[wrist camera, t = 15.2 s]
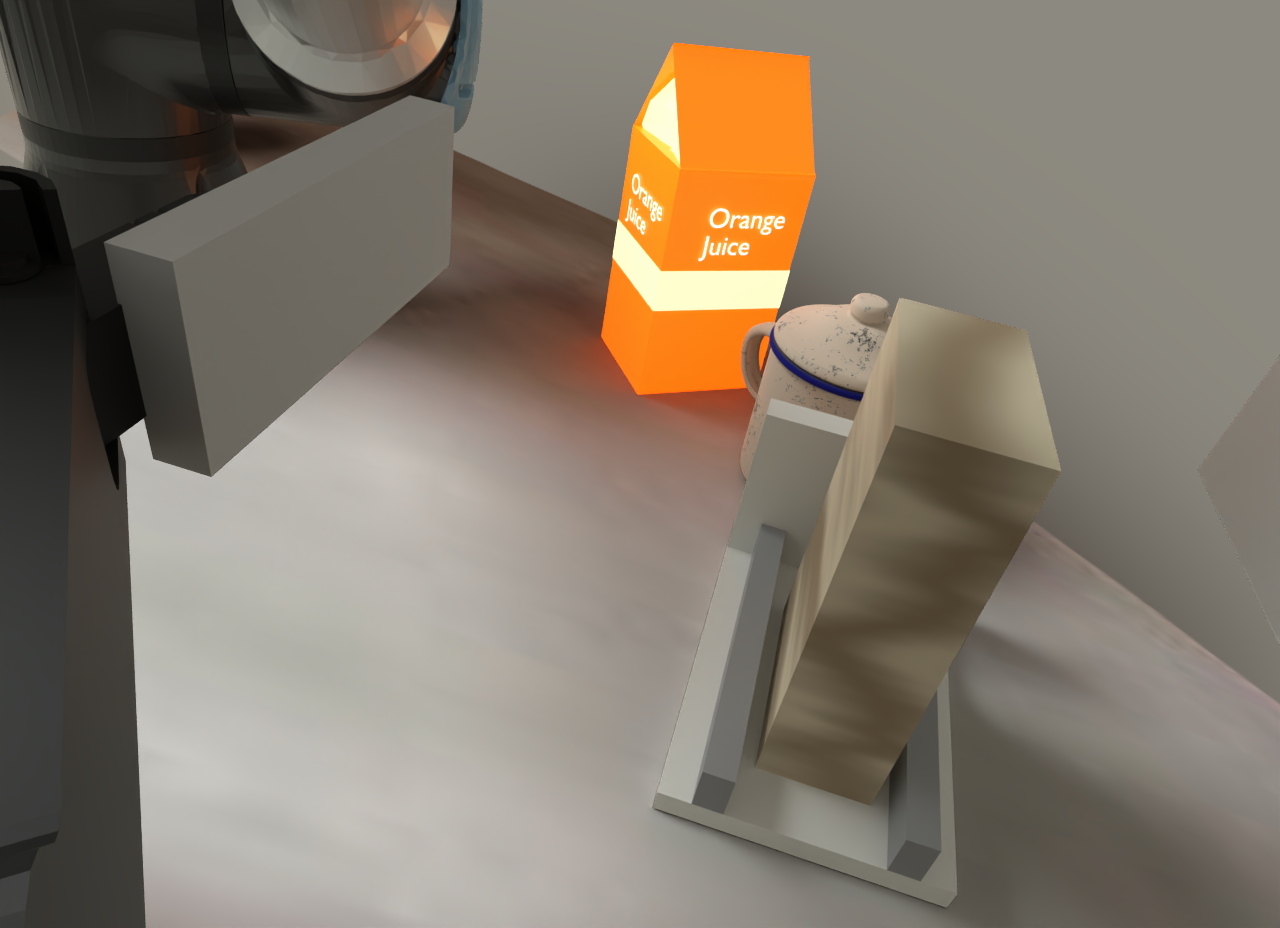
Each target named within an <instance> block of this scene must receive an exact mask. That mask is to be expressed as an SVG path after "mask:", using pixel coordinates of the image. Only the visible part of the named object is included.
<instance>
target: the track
mask: <svg viewBox="0 0 1280 928" xmlns="http://www.w3.org/2000/svg"><path fill="white" fill-rule="evenodd" d="M853 422H854V421H852V420H848V419H845V418H841V417H838V416H834V415H830V414H827V413H823V412H820V411H816V410H812V409H809V408H805V407H802V406H798V405H795V404H791V403H787V402H784V401H780V400H777V399H773V398H771V400H770V403H769V407H768V410H767V413H766V417H765V420H764V423H763V427H762V430H761V433H760V437H759V440H758V443H757V447H756V450H755V453H754V457H753V460H752V464H751V467H750V470H749V474H748V477H747V480H746V484H745V487H744V490H743V494H742V497H741V500H740V504H739V507H738V510H737V514H736V517H735V521H734V524H733V527H732V531H731V534H730V537H729V541H728V544H727V548H726V551H725V555H724V558H723V562H722V565H721V569H720V572H719V576H718V579H717V583H716V586H715V590H714V593H713V597H712V600H711V604H710V607H709V611H708V614H707V618H706V621H705V625H704V628H703V632H702V636H701V639H700V643H699V646H698V650H697V653H696V657H695V660H694V664H693V667H692V671H691V674H690V678H689V681H688V685H687V688H686V692H685V695H684V699H683V702H682V706H681V709H680V713H679V716H678V720H677V723H676V727H675V730H674V734H673V737H672V741H671V745H670V748H669V752H668V755H667V759H666V762H665V766H664V769H663V773H662V776H661V780H660V783H659V787H658V790H657V794H656V797H655V801H654V804H653V808H656V809H659V810H661V811H664V812H667V813H670V814H673V815H676V816H679V817H682V818H685V819H688V820H691V821H694V822H697V823H700V824H702V825H705V826H708V827H711V828H714V829H717V830H720V831H723V832H726V833H729V834H732V835H735V836H738V837H741V838H744V839H746V840H749V841H752V842H755V843H758V844H761V845H764V846H767V847H770V848H773V849H776V850H779V851H782V852H785V853H787V854H790V855H793V856H796V857H799V858H802V859H805V860H808V861H811V862H814V863H817V864H820V865H823V866H826V867H828V868H831V869H834V870H837V871H840V872H843V873H846V874H849V875H852V876H855V877H858V878H861V879H864V880H867V881H869V882H872V883H875V884H878V885H881V886H884V887H887V888H890V889H893V890H896V891H899V892H902V893H905V894H908V895H910V896H913V897H916V898H919V899H922V900H925V901H928V902H931V903H934V904H937V905H940V906H943V907H946V908H947V907H948V906H949V904H950V903H951V902H952V900H953V899H954V898H955V896H956V895H957V872H956V847H955V823H954V799H953V775H952V750H951V726H950V702H949V677H948V671H947V673H946V675H945V676H944V678H943V680H942V682H941V683H940V685H939V687H938V689H937V690H936V692H935V694H934V696H933V698H932V699H931V701H930V703H929V705H928V706H927V708H926V710H925V712H924V713H923V715H922V717H921V719H920V720H919V722H918V724H917V726H916V727H915V729H914V731H913V733H912V734H911V736H910V738H909V740H908V741H907V743H906V745H905V747H904V748H903V750H902V752H901V754H900V755H899V757H898V759H897V761H896V762H895V764H894V766H893V768H892V769H891V771H890V773H889V775H888V776H887V778H886V780H885V782H884V783H883V785H882V787H881V789H880V791H879V792H878V794H877V796H876V798H875V799H874V801H873V803H872V805H871V806H870V805H867V804H864V803H861V802H857V801H854V800H851V799H848V798H845V797H842V796H839V795H836V794H833V793H830V792H827V791H824V790H821V789H818V788H815V787H812V786H809V785H806V784H803V783H800V782H797V781H794V780H791V779H788V778H785V777H782V776H779V775H776V774H773V773H770V772H767V771H764V770H761V769H758V768H755V765H756V759H757V754H758V748H759V743H760V737H761V732H762V726H763V721H764V715H765V710H766V704H767V699H768V693H769V688H770V682H771V677H772V671H773V666H774V660H775V655H776V649H777V644H778V638H779V633H780V627H781V622H782V616H783V611H784V607H785V604H786V601H787V599H788V596H789V593H790V591H791V588H792V585H793V583H794V580H795V577H796V575H797V572H798V569H799V567H800V564H801V561H802V558H803V556H804V553H805V550H806V548H807V545H808V542H809V540H810V537H811V534H812V532H813V529H814V526H815V524H816V521H817V518H818V516H819V513H820V510H821V508H822V505H823V502H824V499H825V497H826V494H827V491H828V489H829V486H830V483H831V481H832V478H833V475H834V473H835V470H836V467H837V465H838V462H839V459H840V457H841V454H842V451H843V449H844V446H845V443H846V440H847V438H848V435H849V432H850V430H851V427H852V424H853Z"/></svg>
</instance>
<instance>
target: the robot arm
mask: <svg viewBox="0 0 1280 928" xmlns="http://www.w3.org/2000/svg"><path fill="white" fill-rule="evenodd" d="M481 28H482V0H0V50H1V54H2V58H3V62H4V65H5V69H6V73H7V76H8V80H9V84H10V88H11V91H12V95H13V99H14V102H15V106H16V109H17V113H18V117H19V121H20V125H21V129H22V133H23V137H24V141H25V156H24V164H23V169H20V168H16V167H12V166H0V928H146V925H145V902H144V879H143V855H142V832H141V809H140V786H139V763H138V739H137V716H136V693H135V670H134V646H133V623H132V600H131V577H130V554H129V530H128V507H127V484H126V461H125V457H124V453H123V449H122V445H121V441H120V437H119V436H120V435H121V434H123V433H124V432H125V431H127V430H128V429H129V428H131V427H132V426H134V425H135V424H136V423H138V422H139V421H140V420H142V419H143V418H144V421H145V425H146V429H147V434H148V438H149V442H150V447H151V451H152V455H153V459H155V460H159V461H162V462H165V463H168V464H171V465H175V466H178V467H181V468H184V469H187V470H191V471H194V472H197V473H200V474H204V475H207V476H210V477H212V476H213V475H214V474H215V473H216V472H217V471H219V470H220V469H221V468H222V467H223V466H224V465H225V464H226V463H228V462H229V461H230V460H231V459H232V458H233V457H234V456H235V455H237V454H238V453H239V452H240V451H241V450H242V449H243V448H244V447H246V446H247V445H248V444H249V443H250V442H251V441H252V440H253V439H255V438H256V437H257V436H258V435H259V434H260V433H261V432H262V431H264V430H265V429H266V428H267V427H268V426H269V425H270V424H271V423H273V422H274V421H275V420H276V419H277V418H278V417H279V416H280V415H282V414H283V413H284V412H285V411H286V410H287V409H288V408H289V407H291V406H292V405H293V404H294V403H295V402H296V401H297V400H298V399H300V398H301V397H302V396H303V395H304V394H305V393H306V392H307V391H309V390H310V389H311V388H312V387H313V386H314V385H315V384H316V383H318V382H319V381H320V380H321V379H322V378H323V377H324V376H325V375H327V374H328V373H329V372H330V371H331V370H332V369H333V368H334V367H336V366H337V365H338V364H339V363H340V362H341V361H342V360H343V359H345V358H346V357H347V356H348V355H349V354H350V353H351V352H352V351H354V350H355V349H356V348H357V347H358V346H359V345H360V344H361V343H363V342H364V341H365V340H366V339H367V338H368V337H369V336H370V335H372V334H373V333H374V332H375V331H376V330H377V329H378V328H379V327H381V326H382V325H383V324H384V323H385V322H386V321H387V320H388V319H390V318H391V317H392V316H393V315H394V314H395V313H396V312H397V311H399V310H400V309H401V308H402V307H403V306H404V305H405V304H406V303H408V302H409V301H410V300H411V299H412V298H413V297H414V296H415V295H417V294H418V293H419V292H420V291H421V290H422V289H423V288H424V287H426V286H427V285H428V284H429V283H430V282H431V281H432V280H433V279H435V278H436V277H437V276H438V275H439V274H440V273H441V272H442V271H444V270H445V269H446V268H447V267H448V266H449V265H450V236H451V204H452V173H453V140H454V133H456V132H457V131H458V130H460V129H461V127H462V126H463V125H464V123H465V122H466V119H467V117H468V114H469V111H470V108H471V104H472V99H473V89H474V85H473V82H475V79H476V74H477V70H478V63H479V53H480V42H481ZM232 114H236V115H245V116H256V117H265V118H273V119H281V120H290V121H298V122H306V123H315V124H323V125H331V126H340V127H343V128H341V129H339V130H337V131H335V132H333V133H330V134H328V135H326V136H324V137H322V138H320V139H318V140H316V141H314V142H312V143H310V144H308V145H305V146H303V147H301V148H299V149H297V150H295V151H293V152H291V153H289V154H287V155H285V156H282V157H280V158H278V159H276V160H274V161H272V162H270V163H268V164H266V165H264V166H262V167H260V168H257V169H255V170H253V171H251V172H249V173H248V172H247V170H246V168H245V166H244V164H243V162H242V159H241V157H240V155H239V153H238V150H237V147H236V142H235V135H234V127H233V118H232ZM1198 472H1199V474H1200V477H1201V479H1202V481H1203V483H1204V485H1205V487H1206V489H1207V492H1208V494H1209V496H1210V498H1211V500H1212V502H1213V505H1214V507H1215V509H1216V511H1217V513H1218V515H1219V517H1220V520H1221V522H1222V524H1223V526H1224V528H1225V530H1226V532H1227V535H1228V537H1229V539H1230V541H1231V543H1232V545H1233V547H1234V550H1235V552H1236V554H1237V556H1238V558H1239V560H1240V562H1241V565H1242V566H1243V569H1244V571H1245V573H1246V575H1247V577H1248V580H1249V582H1250V584H1251V586H1252V588H1253V590H1254V592H1255V595H1256V596H1257V599H1258V601H1259V603H1260V605H1261V607H1262V610H1263V612H1264V614H1265V616H1266V618H1267V620H1268V622H1269V625H1270V627H1271V629H1272V630H1273V633H1274V635H1275V637H1276V640H1277V642H1278V644H1279V646H1280V356H1279V357H1278V359H1277V360H1276V361H1275V363H1274V364H1273V365H1272V367H1271V368H1270V370H1269V371H1268V372H1267V374H1266V375H1265V377H1264V378H1263V379H1262V381H1261V382H1260V384H1259V385H1258V386H1257V388H1256V389H1255V391H1254V392H1253V393H1252V395H1251V396H1250V398H1249V399H1248V400H1247V402H1246V403H1245V404H1244V406H1243V407H1242V409H1241V410H1240V412H1239V413H1238V414H1237V416H1236V417H1235V418H1234V420H1233V421H1232V423H1231V424H1230V426H1229V427H1228V428H1227V430H1226V431H1225V432H1224V434H1223V435H1222V437H1221V438H1220V439H1219V441H1218V442H1217V444H1216V445H1215V446H1214V448H1213V449H1212V451H1211V452H1210V453H1209V455H1208V456H1207V458H1206V459H1205V460H1204V462H1203V463H1202V465H1201V466H1200V467H1199V469H1198Z"/></svg>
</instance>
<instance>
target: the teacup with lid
mask: <svg viewBox="0 0 1280 928" xmlns="http://www.w3.org/2000/svg"><path fill="white" fill-rule="evenodd" d="M889 313H890V306H889V304H888V302H887V301H886V300H885V299H883V298H881V297H880V296H877V295H874V294H868V293H861V294H858V295H856V296H855V297H854V298H853V299H852V301H851V304H850V305H849V304H848V305H847V304H846V305H808V306H803V307H799V308H796V309H793V310H791V311H789V312H787V313H786V314H784V315H783V316H782V317H781V318H780V319H779V320H778V321H777V323H775V322H765V323H761V324H758V325H755V326H753V327H752V328H751V329H750V330H749V331H748V332H747V334H746V336H745V338H744V341H743V344H742V349H741V369H742V375H743V379H744V382H745V385H746V387H747V389H748V391H749V392H750V394H751V395H752V397H753V398H754V399H755V400H756V401H755V405H754V408H753V412H752V415H751V419H750V422H749V426H748V429H747V433H746V436H745V440H744V443H743V447H742V450H741V455H740V466H741V470H742V473H743V475H744V477H745V479H746V480H747V477H748V474H749V470H750V467H751V464H752V460H753V457H754V453H755V450H756V447H757V443H758V440H759V437H760V433H761V430H762V427H763V423H764V420H765V417H766V413H767V410H768V407H769V403H770V400H771V398H773V399H777V400H780V401H784V402H787V403H791V404H795V405H798V406H802V407H805V408H809V409H812V410H816V411H820V412H823V413H827V414H830V415H834V416H838V417H841V418H845V419H848V420H852V421H854V419H855V416H856V414H857V411H858V408H859V406H860V403H861V400H862V398H863V395H864V392H865V390H866V387H867V384H868V381H869V379H870V376H871V373H872V371H873V368H874V365H875V363H876V360H877V357H878V355H879V352H880V349H881V347H882V344H883V341H884V339H885V336H886V333H887V331H888V328H889V325H890V322H891V320H892V318H891V317H889V316H888V315H889ZM764 336H767V337H769V340H770V346H771V349H770V352H769V356H768V359H767V363H766V366H765V370H764V373H763V377H762V374H761V370H760V364H759V352H760V346H761V342H762V340H763V338H764Z"/></svg>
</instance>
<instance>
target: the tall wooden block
mask: <svg viewBox="0 0 1280 928" xmlns="http://www.w3.org/2000/svg"><path fill="white" fill-rule="evenodd" d="M1060 473H1061V468H1060V464H1059V460H1058V456H1057V451H1056V447H1055V443H1054V440H1053V435H1052V431H1051V427H1050V423H1049V419H1048V415H1047V411H1046V407H1045V403H1044V399H1043V395H1042V391H1041V387H1040V383H1039V379H1038V375H1037V371H1036V366H1035V362H1034V359H1033V354H1032V350H1031V346H1030V343H1029V338H1028V334H1027V331H1026V330H1023V329H1019V328H1015V327H1011V326H1007V325H1003V324H1000V323H996V322H992V321H988V320H984V319H981V318H977V317H973V316H969V315H965V314H961V313H957V312H954V311H950V310H946V309H942V308H938V307H934V306H930V305H927V304H923V303H919V302H915V301H911V300H907V299H903V298H899V301H898V304H897V306H896V309H895V312H894V314H893V317H892V320H891V322H890V325H889V328H888V331H887V333H886V336H885V339H884V341H883V344H882V347H881V349H880V352H879V355H878V357H877V360H876V363H875V365H874V368H873V371H872V373H871V376H870V379H869V381H868V384H867V387H866V390H865V392H864V395H863V398H862V400H861V403H860V406H859V408H858V411H857V414H856V416H855V419H854V422H853V424H852V427H851V430H850V432H849V435H848V438H847V440H846V443H845V446H844V449H843V451H842V454H841V457H840V459H839V462H838V465H837V467H836V470H835V473H834V475H833V478H832V481H831V483H830V486H829V489H828V491H827V494H826V497H825V499H824V502H823V505H822V508H821V510H820V513H819V516H818V518H817V521H816V524H815V526H814V529H813V532H812V534H811V537H810V540H809V542H808V545H807V548H806V550H805V553H804V556H803V558H802V561H801V564H800V567H799V569H798V572H797V575H796V577H795V580H794V583H793V585H792V588H791V591H790V593H789V596H788V599H787V601H786V604H785V607H784V611H783V616H782V622H781V627H780V633H779V638H778V644H777V649H776V655H775V660H774V666H773V671H772V677H771V682H770V688H769V693H768V699H767V704H766V710H765V715H764V721H763V726H762V732H761V737H760V743H759V748H758V754H757V759H756V765H755V768H758V769H761V770H764V771H767V772H770V773H773V774H776V775H779V776H782V777H785V778H788V779H791V780H794V781H797V782H800V783H803V784H806V785H809V786H812V787H815V788H818V789H821V790H824V791H827V792H830V793H833V794H836V795H839V796H842V797H845V798H848V799H851V800H854V801H857V802H861V803H864V804H867V805H870V806H871V805H872V803H873V801H874V799H875V798H876V796H877V794H878V792H879V791H880V789H881V787H882V785H883V783H884V782H885V780H886V778H887V776H888V775H889V773H890V771H891V769H892V768H893V766H894V764H895V762H896V761H897V759H898V757H899V755H900V754H901V752H902V750H903V748H904V747H905V745H906V743H907V741H908V740H909V738H910V736H911V734H912V733H913V731H914V729H915V727H916V726H917V724H918V722H919V720H920V719H921V717H922V715H923V713H924V712H925V710H926V708H927V706H928V705H929V703H930V701H931V699H932V698H933V696H934V694H935V692H936V690H937V689H938V687H939V685H940V683H941V682H942V680H943V678H944V676H945V675H946V673H947V671H948V669H949V668H950V666H951V664H952V662H953V661H954V659H955V657H956V655H957V654H958V652H959V650H960V648H961V647H962V645H963V643H964V641H965V640H966V638H967V636H968V634H969V633H970V631H971V629H972V627H973V626H974V624H975V622H976V620H977V619H978V617H979V615H980V613H981V612H982V610H983V608H984V606H985V604H986V603H987V601H988V599H989V597H990V596H991V594H992V592H993V590H994V589H995V587H996V585H997V583H998V582H999V580H1000V578H1001V576H1002V575H1003V573H1004V571H1005V569H1006V568H1007V566H1008V564H1009V562H1010V561H1011V559H1012V557H1013V555H1014V554H1015V552H1016V550H1017V548H1018V547H1019V545H1020V543H1021V541H1022V540H1023V538H1024V536H1025V534H1026V533H1027V531H1028V529H1029V527H1030V526H1031V524H1032V522H1033V520H1034V519H1035V517H1036V515H1037V513H1038V511H1039V510H1040V508H1041V506H1042V504H1043V502H1044V501H1045V499H1046V497H1047V496H1048V494H1049V492H1050V490H1051V488H1052V487H1053V485H1054V483H1055V482H1056V480H1057V478H1058V476H1059V475H1060Z"/></svg>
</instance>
